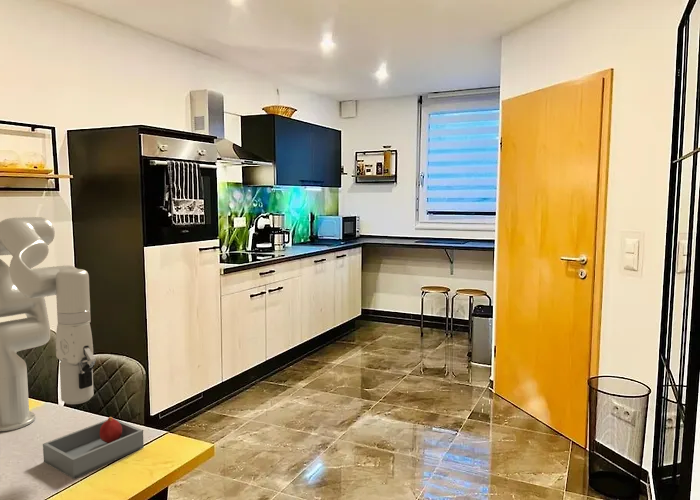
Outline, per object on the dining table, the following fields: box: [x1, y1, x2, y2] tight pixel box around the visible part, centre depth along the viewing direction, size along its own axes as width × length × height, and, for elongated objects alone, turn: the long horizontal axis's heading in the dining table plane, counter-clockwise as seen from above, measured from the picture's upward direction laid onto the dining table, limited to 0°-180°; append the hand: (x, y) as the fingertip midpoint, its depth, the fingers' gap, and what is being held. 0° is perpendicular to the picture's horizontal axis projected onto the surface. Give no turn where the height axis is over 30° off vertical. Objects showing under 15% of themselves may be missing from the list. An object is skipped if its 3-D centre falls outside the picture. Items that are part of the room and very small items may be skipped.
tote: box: [42, 417, 144, 480], centre depth 140 cm, size 15×20×5 cm
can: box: [59, 358, 95, 405], centre depth 135 cm, size 8×8×12 cm
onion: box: [100, 416, 122, 443], centre depth 145 cm, size 6×6×8 cm
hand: (77, 383), depth 135 cm, fingers closed on can, 7 cm apart
